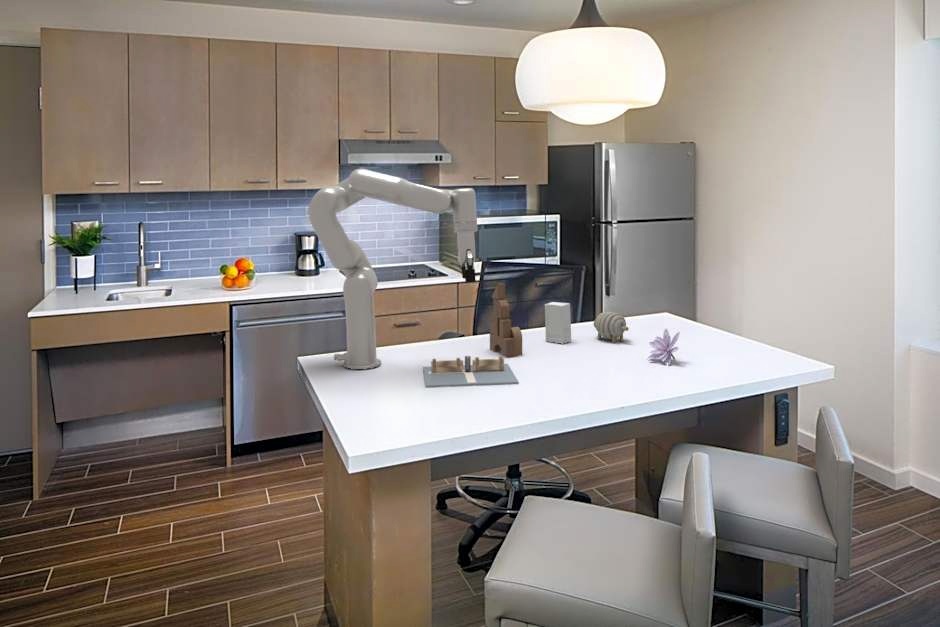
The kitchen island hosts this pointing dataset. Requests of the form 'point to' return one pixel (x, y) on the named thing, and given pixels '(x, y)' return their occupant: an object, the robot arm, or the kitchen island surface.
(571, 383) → the kitchen island surface
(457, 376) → the board
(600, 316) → the toy sheep
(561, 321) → the skincare box
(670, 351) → the water lily
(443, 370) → the fixed fence rail
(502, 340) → the wooden toy
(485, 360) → the tan wooden bar
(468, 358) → the fence post
